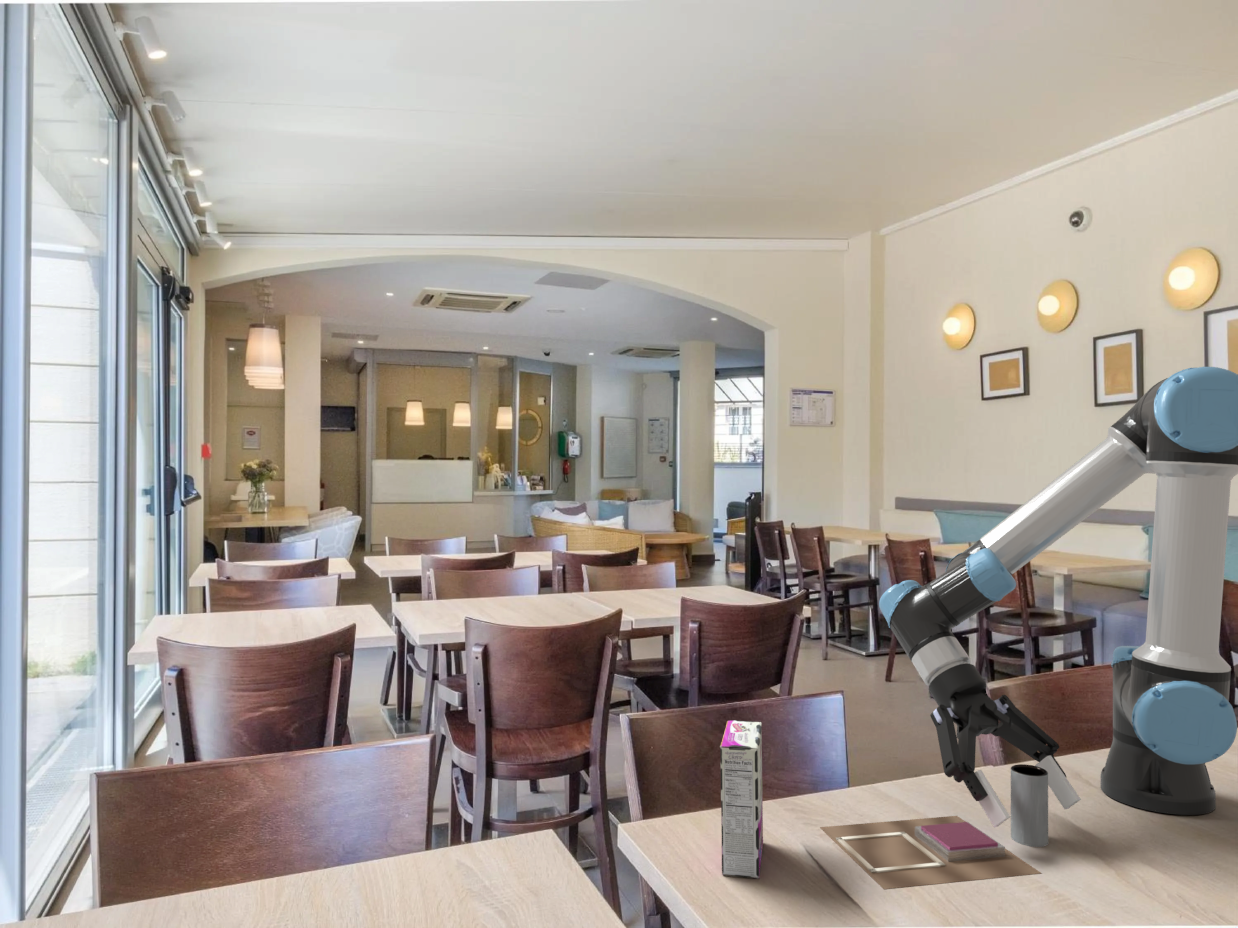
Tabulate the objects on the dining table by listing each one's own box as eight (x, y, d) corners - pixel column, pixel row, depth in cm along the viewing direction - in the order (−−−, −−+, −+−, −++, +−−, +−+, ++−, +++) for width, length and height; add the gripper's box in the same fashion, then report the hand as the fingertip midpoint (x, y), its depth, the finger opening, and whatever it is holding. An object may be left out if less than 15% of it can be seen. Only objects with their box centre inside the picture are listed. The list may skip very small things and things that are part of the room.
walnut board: (956, 822, 123) (956, 814, 123) (1041, 881, 106) (1041, 871, 106) (819, 834, 119) (819, 825, 119) (884, 897, 102) (883, 886, 102)
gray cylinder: (1052, 855, 113) (1052, 776, 113) (1015, 852, 114) (1015, 774, 114) (1042, 840, 117) (1042, 765, 117) (1007, 838, 118) (1007, 762, 118)
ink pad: (968, 830, 118) (968, 819, 118) (1004, 856, 110) (1004, 844, 110) (914, 835, 117) (914, 824, 117) (948, 861, 109) (948, 849, 109)
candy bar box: (726, 838, 118) (726, 718, 118) (763, 842, 117) (763, 721, 117) (719, 876, 107) (718, 744, 107) (759, 880, 106) (759, 746, 106)
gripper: (994, 680, 136) (1082, 809, 122) (872, 698, 125) (954, 842, 111) (1023, 653, 131) (1118, 784, 117) (899, 669, 120) (987, 816, 106)
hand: (1038, 813), depth 114 cm, fingers open, 13 cm apart
